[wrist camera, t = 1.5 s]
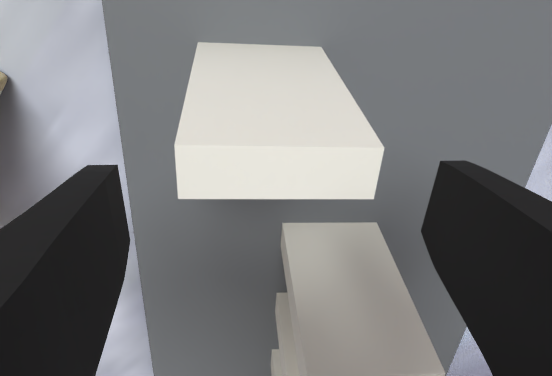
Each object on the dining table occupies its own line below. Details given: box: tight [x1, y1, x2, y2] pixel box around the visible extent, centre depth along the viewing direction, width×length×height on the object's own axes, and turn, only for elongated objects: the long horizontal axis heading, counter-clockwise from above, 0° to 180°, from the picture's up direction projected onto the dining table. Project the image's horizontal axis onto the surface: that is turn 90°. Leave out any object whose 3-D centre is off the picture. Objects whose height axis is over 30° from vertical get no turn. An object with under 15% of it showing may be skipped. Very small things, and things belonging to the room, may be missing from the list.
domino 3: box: [281, 222, 445, 376], centre depth 20 cm, size 2×5×9 cm, turn 87°
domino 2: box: [275, 292, 300, 376], centre depth 23 cm, size 2×5×9 cm, turn 86°
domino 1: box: [174, 42, 384, 199], centre depth 15 cm, size 2×5×9 cm, turn 87°
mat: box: [102, 0, 552, 376], centre depth 25 cm, size 20×31×1 cm, turn 177°
